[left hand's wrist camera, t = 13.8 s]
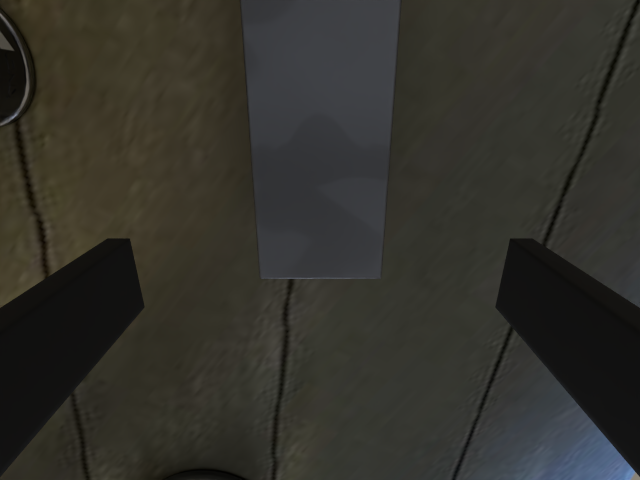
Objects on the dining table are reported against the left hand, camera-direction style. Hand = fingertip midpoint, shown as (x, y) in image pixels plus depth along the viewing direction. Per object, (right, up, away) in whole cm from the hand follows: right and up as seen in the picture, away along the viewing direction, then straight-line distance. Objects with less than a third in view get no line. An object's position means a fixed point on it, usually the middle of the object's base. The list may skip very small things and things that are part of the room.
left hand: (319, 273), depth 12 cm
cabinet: (0, +11, +14) cm, 18 cm away
